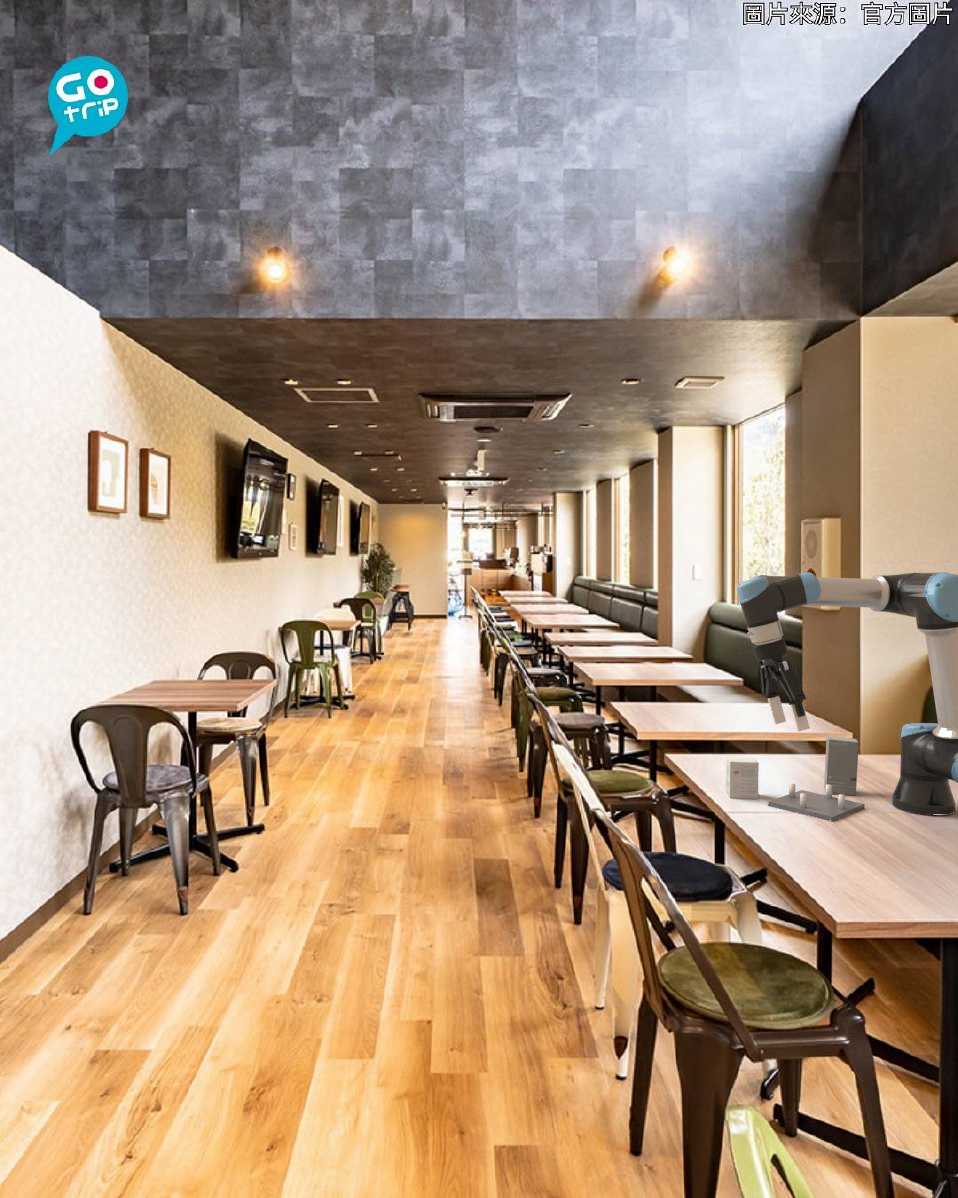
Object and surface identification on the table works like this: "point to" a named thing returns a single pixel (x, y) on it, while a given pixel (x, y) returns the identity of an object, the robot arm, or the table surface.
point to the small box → (742, 777)
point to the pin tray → (816, 804)
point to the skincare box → (841, 765)
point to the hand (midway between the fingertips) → (791, 726)
